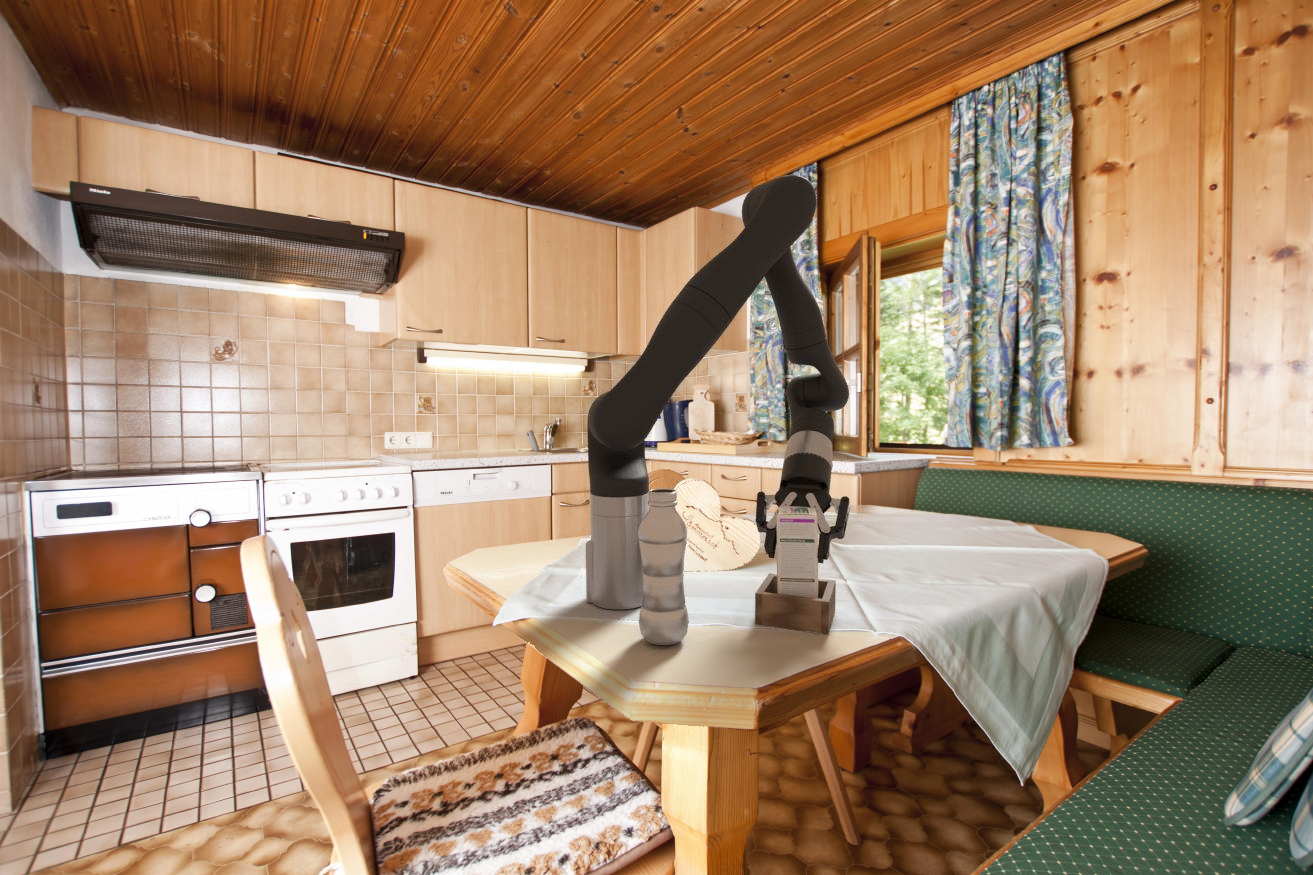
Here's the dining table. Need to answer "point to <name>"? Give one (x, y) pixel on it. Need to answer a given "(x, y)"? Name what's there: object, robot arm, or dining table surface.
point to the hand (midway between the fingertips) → (795, 557)
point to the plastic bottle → (663, 570)
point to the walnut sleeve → (795, 607)
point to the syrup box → (797, 551)
